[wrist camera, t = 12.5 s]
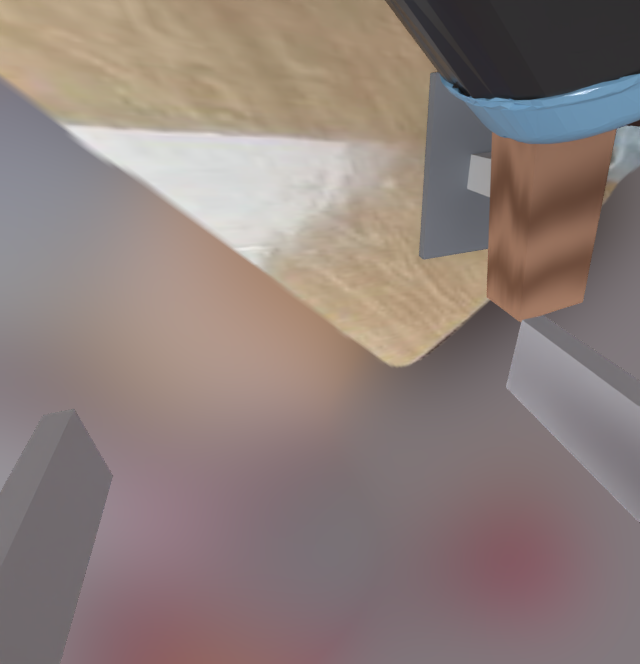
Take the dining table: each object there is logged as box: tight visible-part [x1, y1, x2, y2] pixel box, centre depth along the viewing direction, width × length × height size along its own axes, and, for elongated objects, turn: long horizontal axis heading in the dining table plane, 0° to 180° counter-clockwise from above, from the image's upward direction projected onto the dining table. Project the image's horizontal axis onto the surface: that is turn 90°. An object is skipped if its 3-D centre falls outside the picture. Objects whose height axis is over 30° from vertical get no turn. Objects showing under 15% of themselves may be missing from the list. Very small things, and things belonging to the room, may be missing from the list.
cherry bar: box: [487, 129, 617, 322], centre depth 30 cm, size 20×6×5 cm, turn 12°
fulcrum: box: [419, 72, 492, 259], centre depth 34 cm, size 16×12×6 cm
